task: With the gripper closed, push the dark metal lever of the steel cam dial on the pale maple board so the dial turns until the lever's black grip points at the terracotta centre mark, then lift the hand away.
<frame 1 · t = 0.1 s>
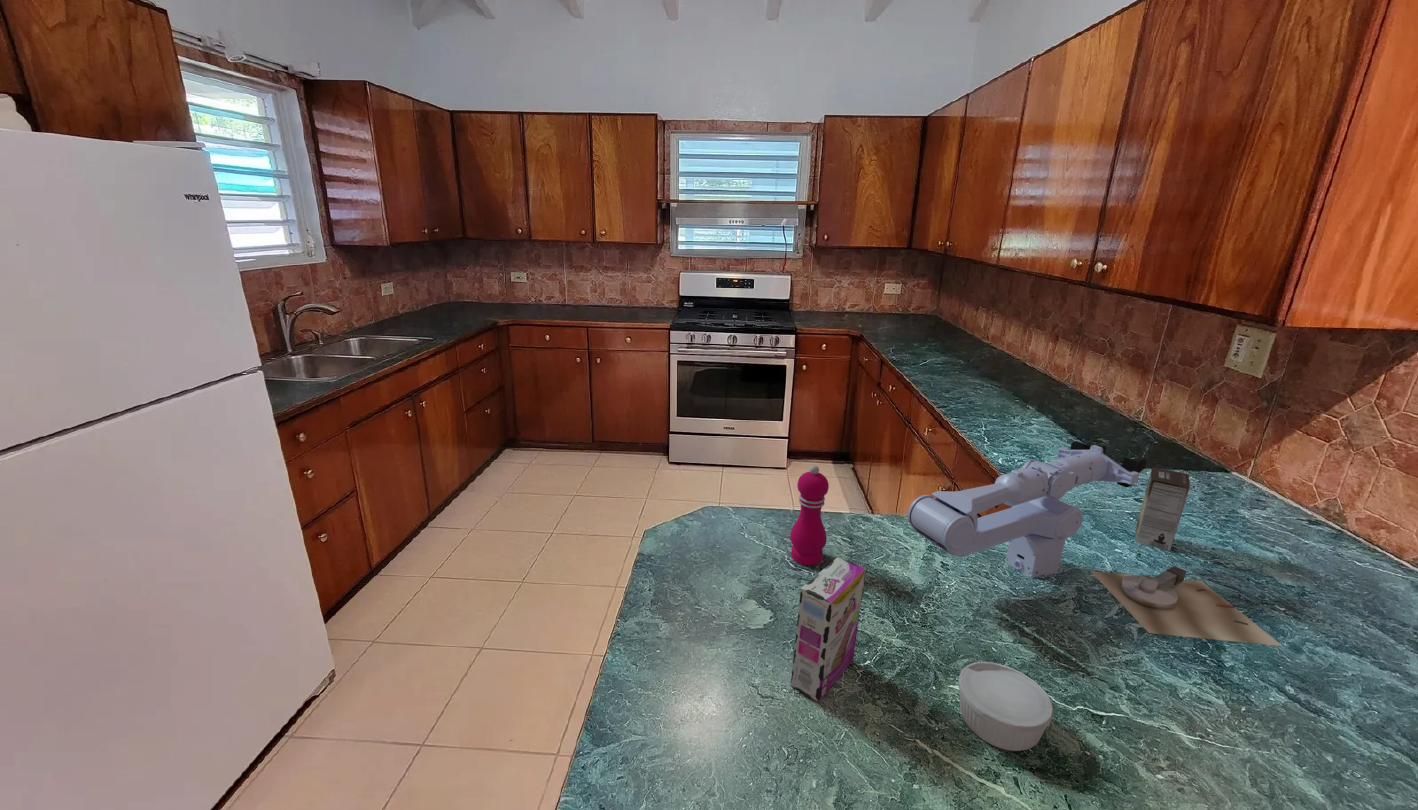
hand: (1123, 456, 112), 22 cm above the worktop, tool horizontal, fingers open, 7 cm apart
candy bar box: (823, 674, 82), on the worktop
pepper mill: (806, 557, 112), on the worktop
coffee box: (1150, 544, 122), on the worktop
cam dial: (1159, 581, 102), point 3 cm above the worktop, hinge at 35.0°
ramekin: (997, 724, 75), on the worktop
dial board: (1141, 604, 101), on the worktop
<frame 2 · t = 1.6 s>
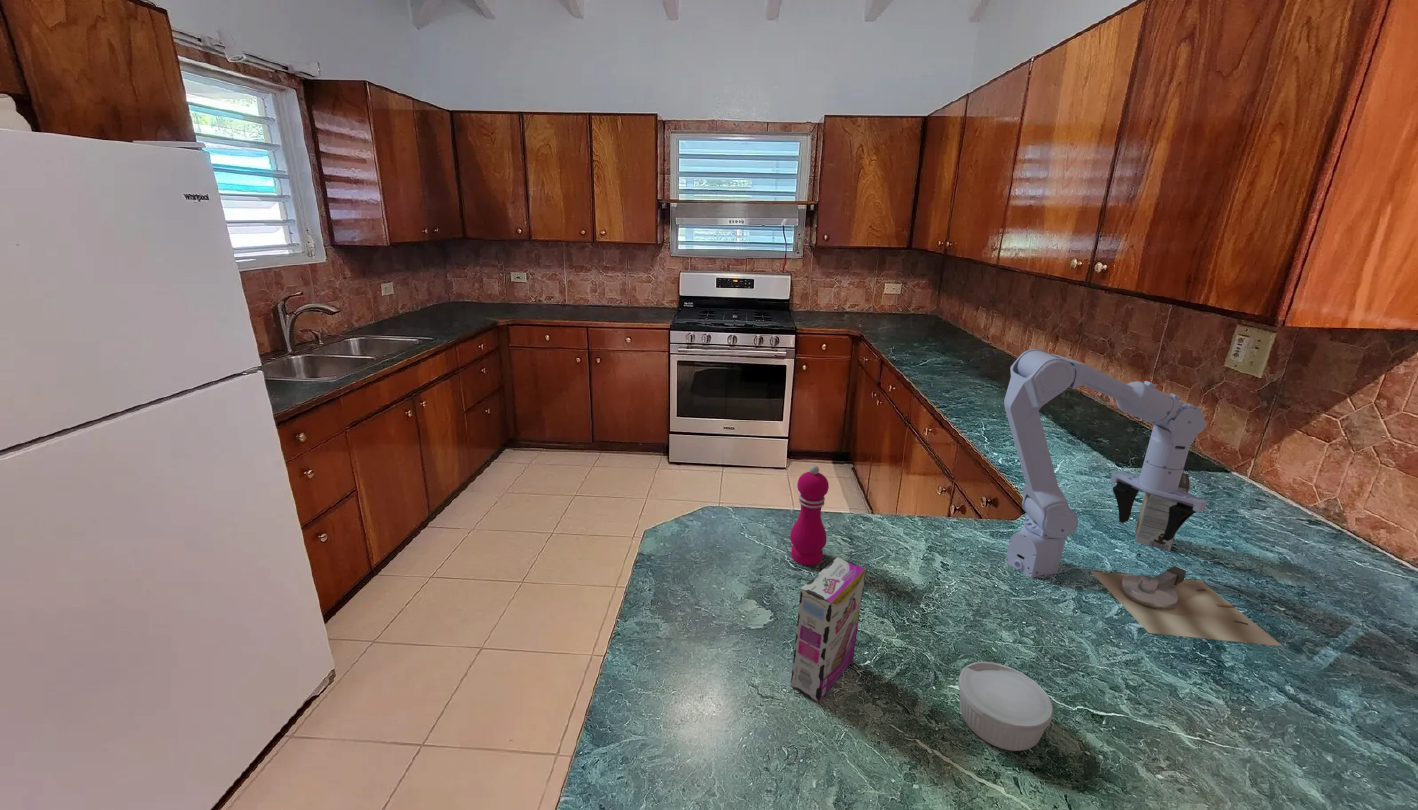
hand: (1144, 529, 106), 10 cm above the worktop, tool pointing down, fingers open, 7 cm apart
nothing on the worktop moved.
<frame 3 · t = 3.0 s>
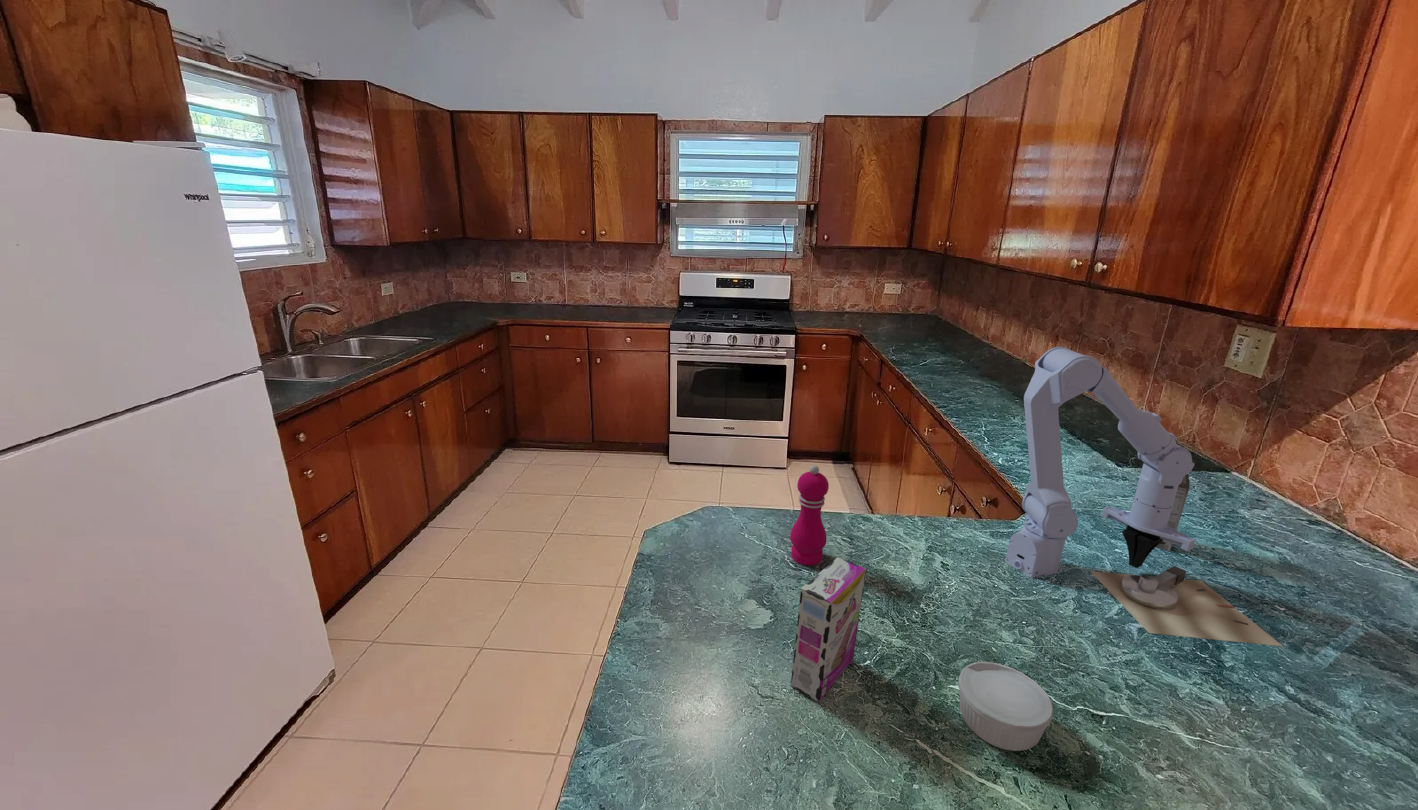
hand: (1135, 565, 108), 3 cm above the worktop, tool pointing down, fingers closed
nothing on the worktop moved.
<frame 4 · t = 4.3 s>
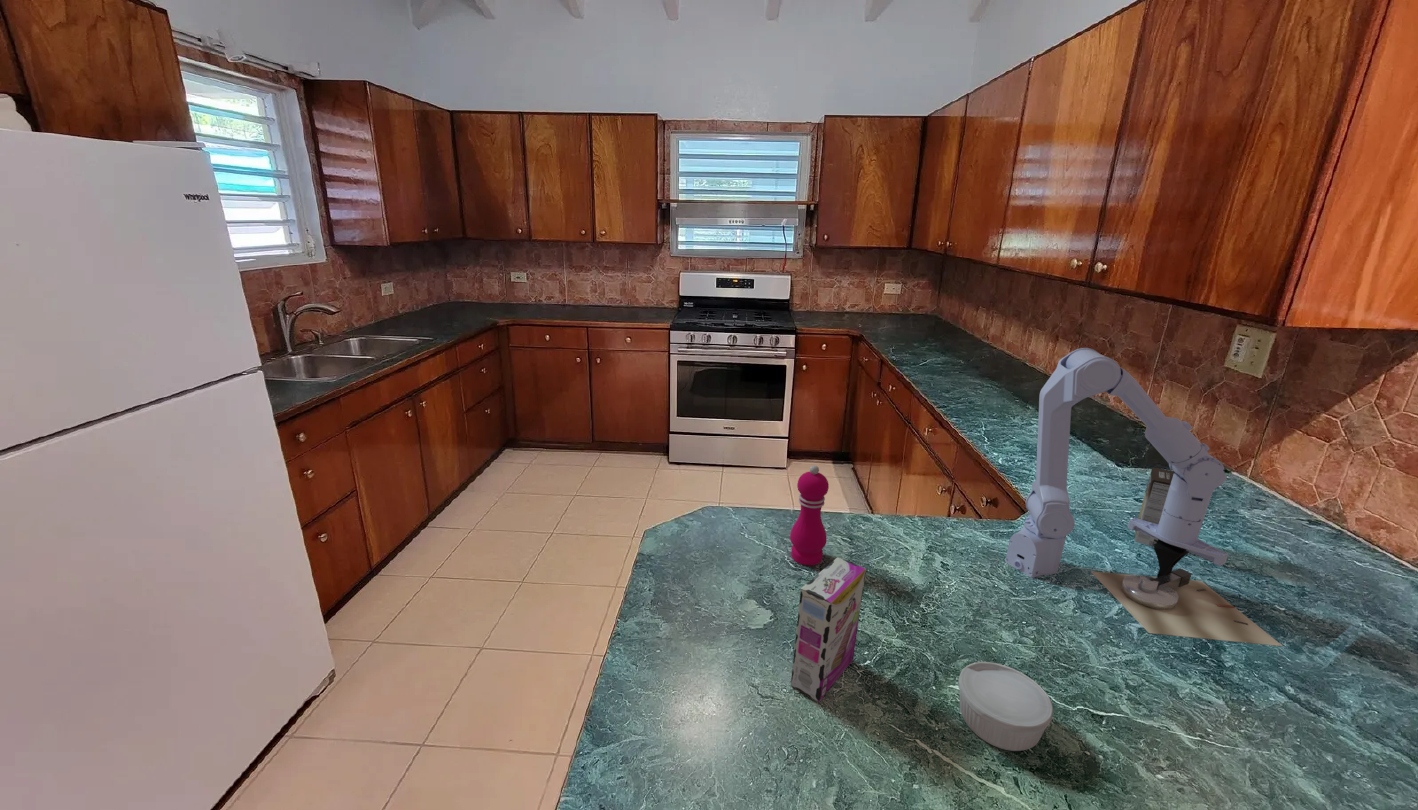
hand: (1163, 579, 104), 2 cm above the worktop, tool pointing down, fingers closed, pressing on cam dial
cam dial: (1161, 582, 101), point 3 cm above the worktop, hinge at 30.7°, touching gripper
everything else where it was.
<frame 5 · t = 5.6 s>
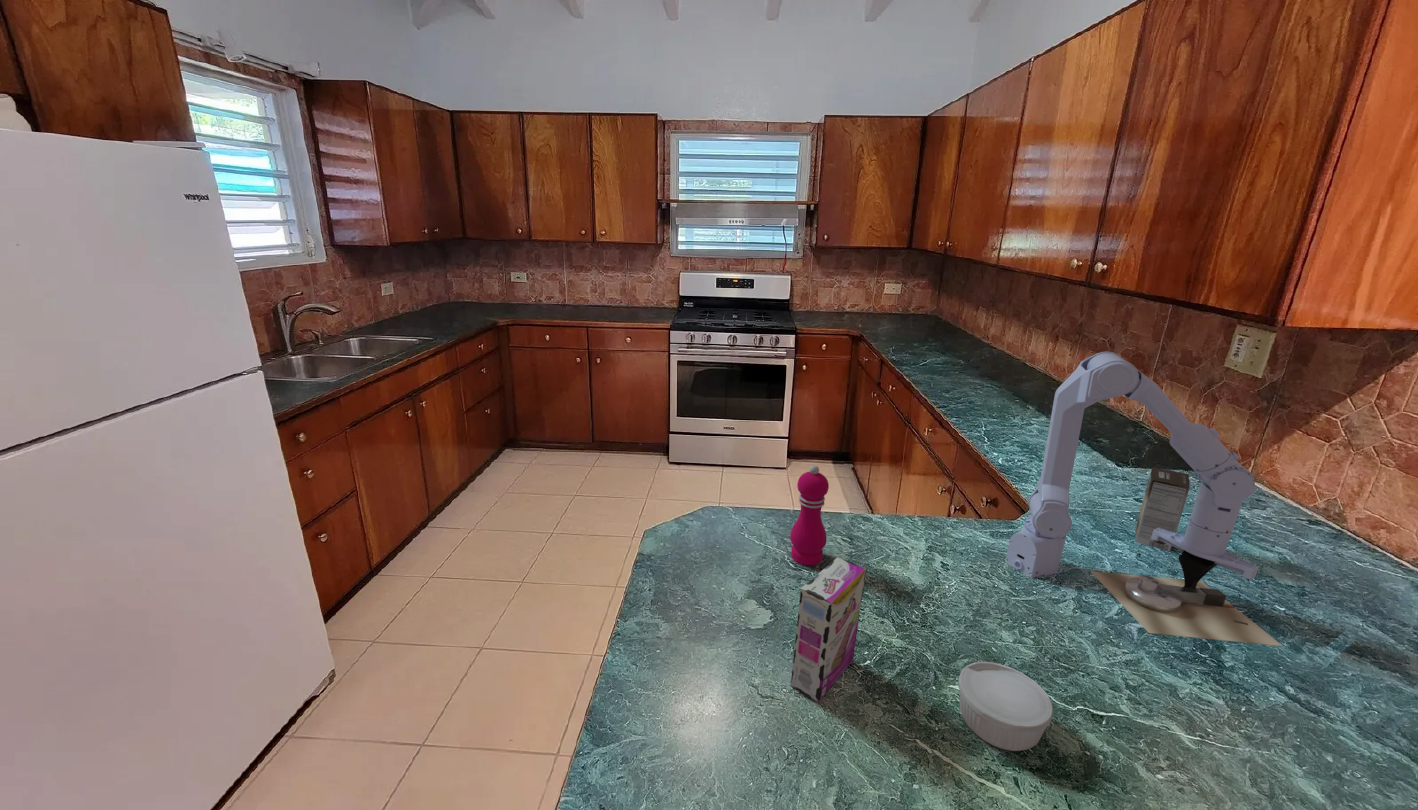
hand: (1188, 591, 101), 2 cm above the worktop, tool pointing down, fingers closed, pressing on cam dial
cam dial: (1174, 591, 99), point 3 cm above the worktop, hinge at -2.1°, touching gripper
everything else where it was.
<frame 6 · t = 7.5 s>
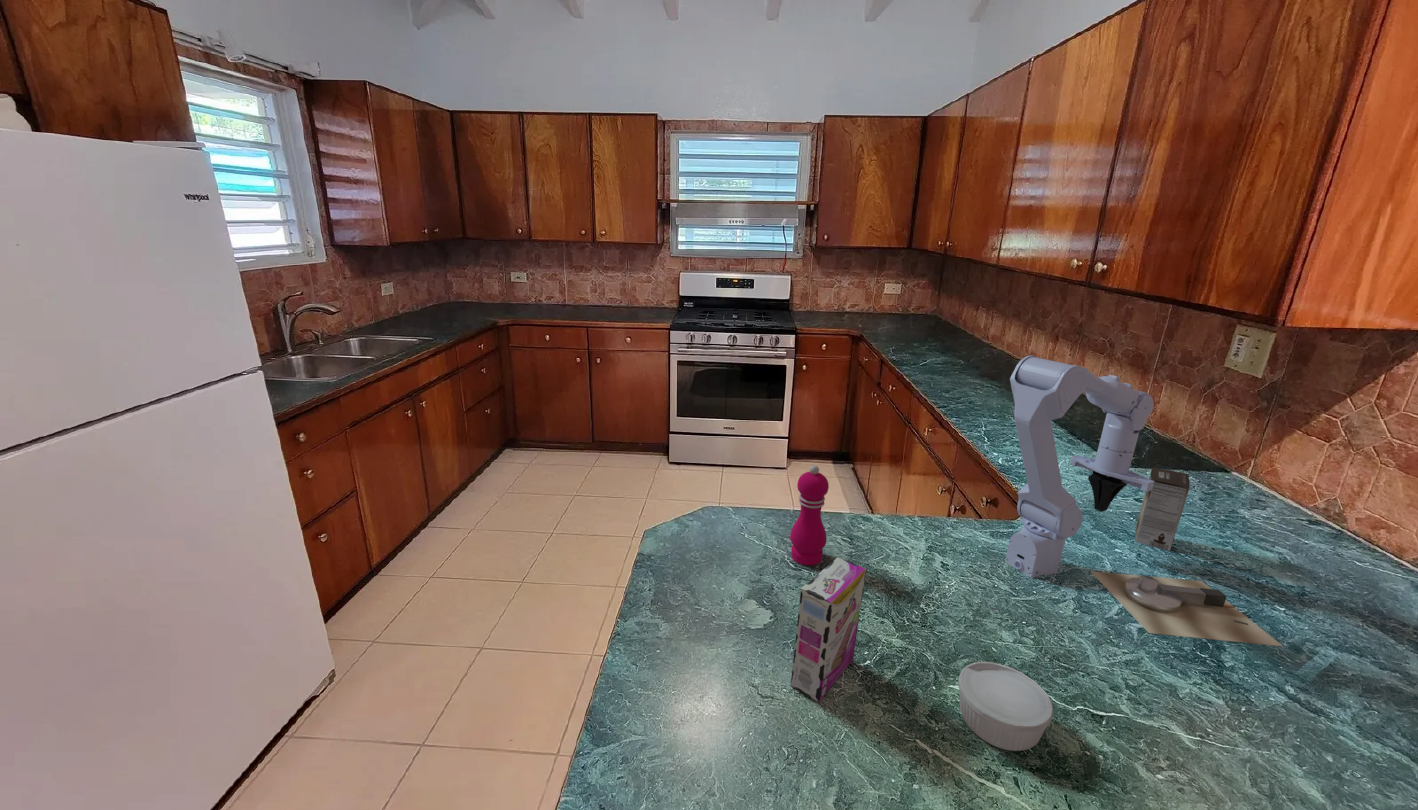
hand: (1100, 509, 114), 10 cm above the worktop, tool pointing down, fingers closed
cam dial: (1175, 591, 99), point 3 cm above the worktop, hinge at -2.5°
everything else where it was.
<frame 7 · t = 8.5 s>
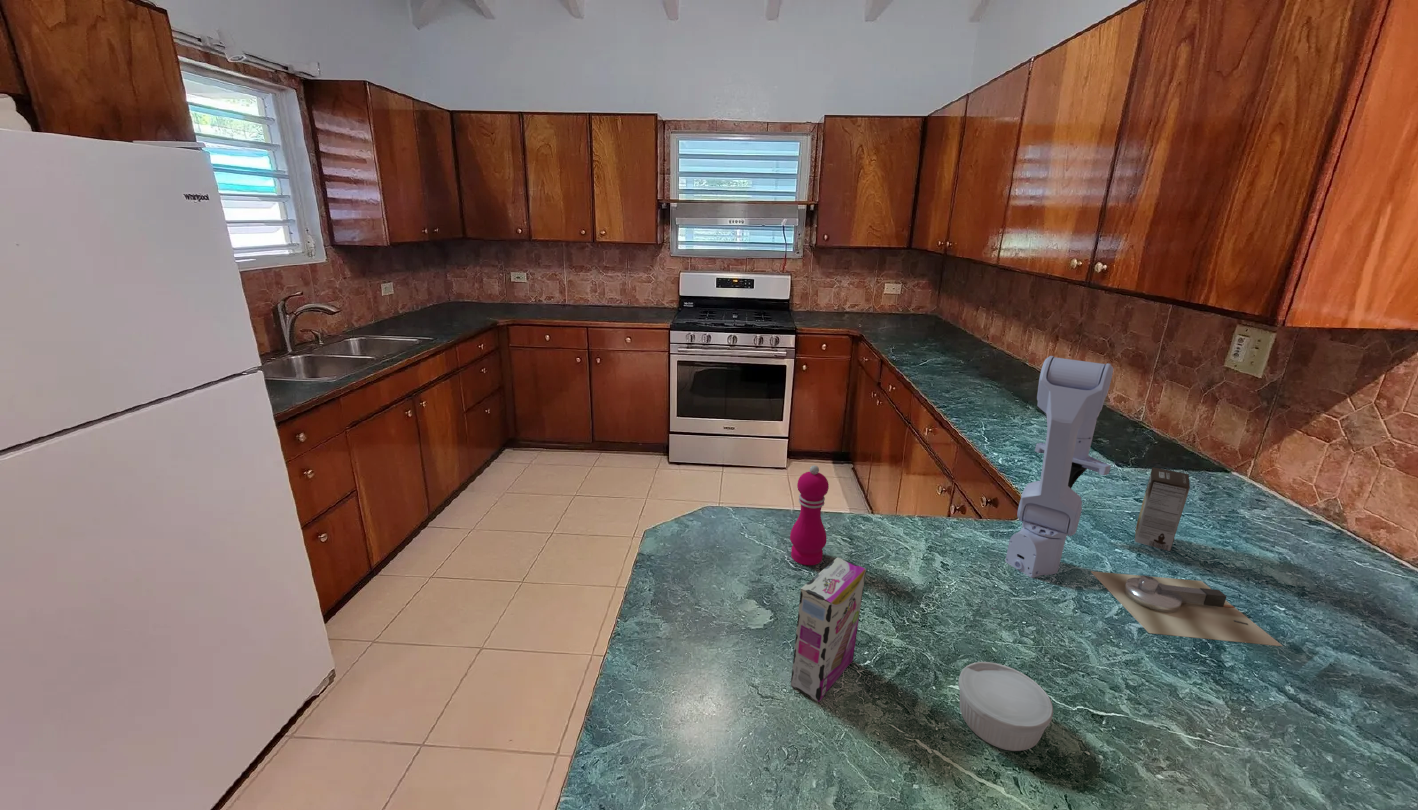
hand: (1062, 493, 121), 10 cm above the worktop, tool pointing down, fingers closed
nothing on the worktop moved.
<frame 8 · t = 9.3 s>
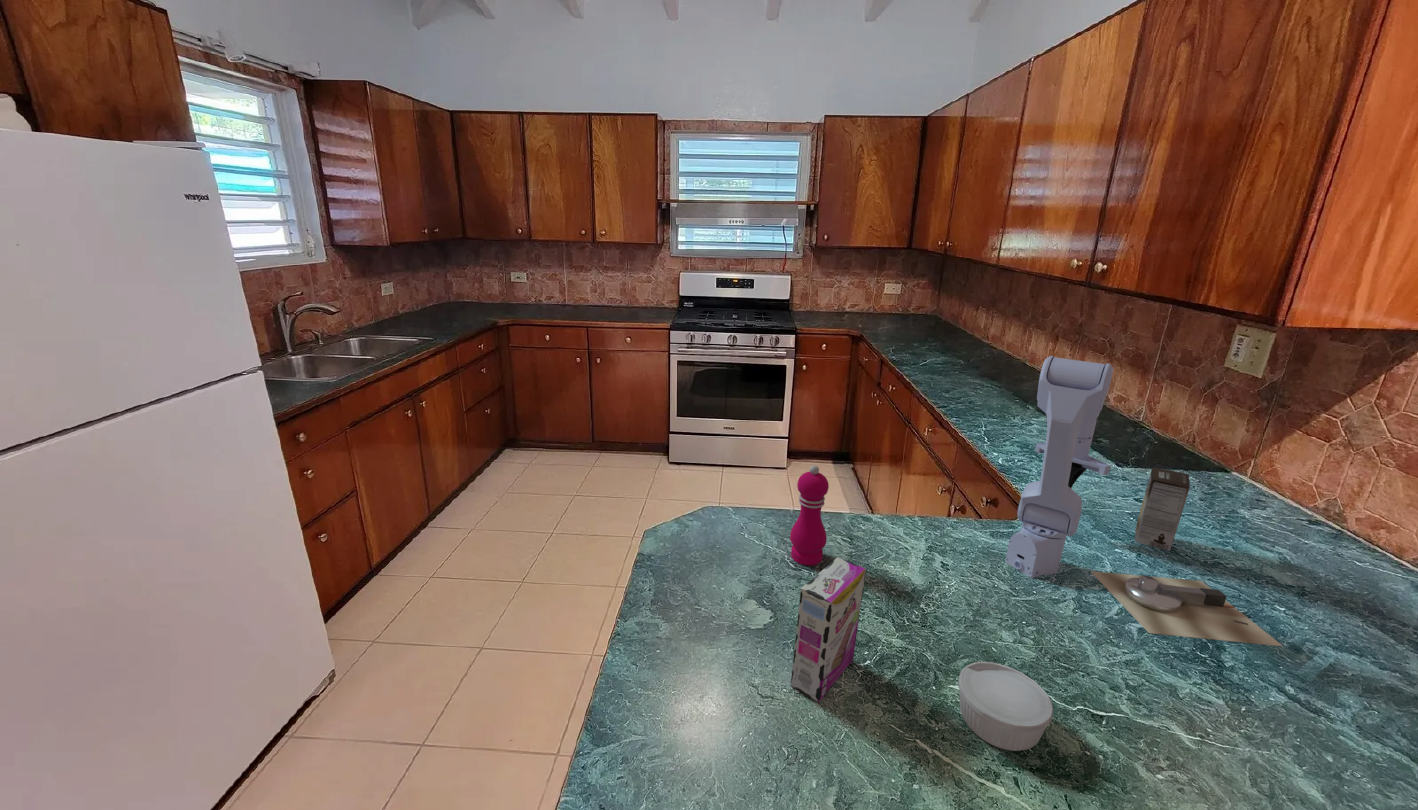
hand: (1062, 493, 121), 10 cm above the worktop, tool pointing down, fingers closed
nothing on the worktop moved.
at the end: cam dial at -2° (first picture: +35°) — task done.
